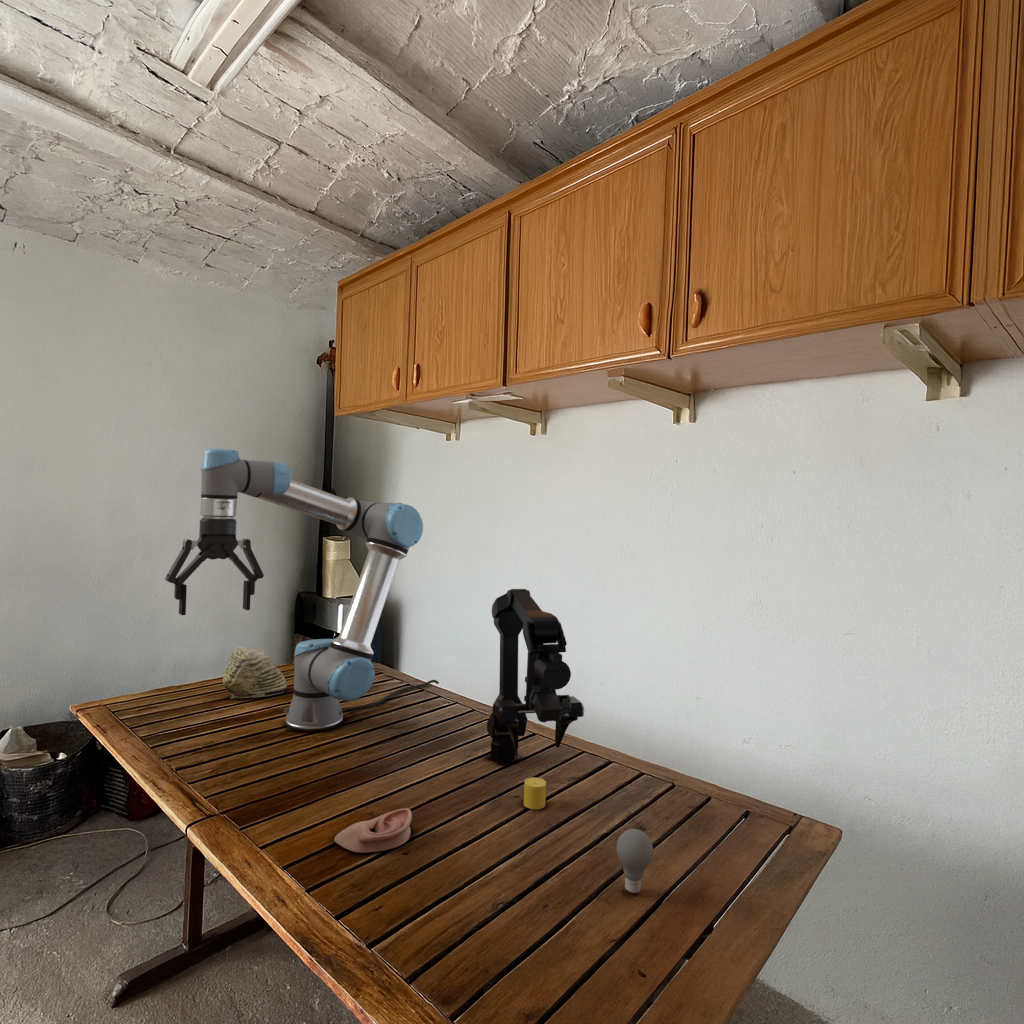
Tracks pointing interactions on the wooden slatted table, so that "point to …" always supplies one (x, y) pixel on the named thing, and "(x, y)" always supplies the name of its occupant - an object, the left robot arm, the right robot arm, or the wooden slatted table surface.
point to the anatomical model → (377, 832)
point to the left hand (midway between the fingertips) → (215, 611)
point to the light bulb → (634, 857)
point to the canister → (534, 793)
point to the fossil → (252, 674)
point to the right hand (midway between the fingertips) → (536, 748)
